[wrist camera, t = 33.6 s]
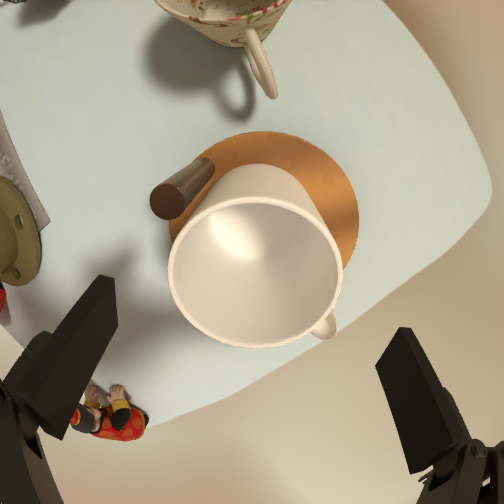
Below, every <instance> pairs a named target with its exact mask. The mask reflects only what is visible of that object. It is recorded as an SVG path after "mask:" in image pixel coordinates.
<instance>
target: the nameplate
mask: <svg viewBox="0 0 504 504" xmlns="http://www.w3.org/2000/svg"><path fill="white" fill-rule="evenodd" d="M0 176H3V177H5V178H7V179H8V180H9V181H11V182H12V183H13V184H14V185H15V186H16V187H17V189H18V190H19V191H20V193H21V194H22V196H23V197H24V199H25V200H26V202H27V204H28V206H29V208H30V210H31V213H32V215H33V218H34V221H35V224H36V227H37V231H38V232H39V231H40V230H41V229H43V228H44V227H45V226H46V225H47V224H48V223H49V222H50V219H49V217H48V215H47V214H46V212H45V210H44V208H43V206H42V205H41V203H40V201H39V199H38V197H37V195H36V193H35V191H34V189H33V187H32V185H31V183H30V181H29V179H28V177H27V175H26V173H25V171H24V169H23V166H22V164H21V162H20V160H19V157H18V155H17V153H16V151H15V148H14V146H13V143H12V141H11V138H10V136H9V133H8V131H7V128H6V125H5V123H4V120H3V117H2V114H1V111H0ZM19 221H20V223H21V225H22V226H24V222H23V219H22V217H21V216H20V215H19Z"/></svg>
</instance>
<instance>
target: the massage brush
mask: <svg viewBox="0 0 504 504" xmlns="http://www.w3.org/2000/svg"><path fill="white" fill-rule="evenodd" d="M3 1H9V2H13V3H15V4H16V3H20V2H21V1H22V2H26V1H27V0H21V1H20V0H17V2H15V0H13V1H12V0H3Z"/></svg>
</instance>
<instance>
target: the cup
mask: <svg viewBox="0 0 504 504" xmlns="http://www.w3.org/2000/svg"><path fill="white" fill-rule="evenodd" d="M167 272H168V282H169V287H170V290H171V293H172V296H173V298H174V301H175V303H176V304H177V306H178V308H179V309H180V311H181V312H182V314H183V315H184V316H185V317H186V318H187V320H188V321H189V322H190V323H191V324H193V325H194V326H195V327H196V328H197V329H199V330H200V331H201V332H203V333H205V334H206V335H208V336H210V337H212V338H214V339H216V340H218V341H221V342H223V343H226V344H229V345H234V346H238V347H245V348H268V347H274V346H279V345H283V344H286V343H289V342H292V341H294V340H297V339H299V338H301V337H303V336H304V335H306V334H308V333H309V332H310V333H311V334H313V335H314V336H316V337H318V338H320V339H325V340H326V339H329V338H331V337H332V336H334V334H335V332H336V319H335V315H334V311H333V307H334V305H335V303H336V301H337V299H338V296H339V294H340V290H341V286H342V280H343V266H342V260H341V255H340V252H339V249H338V247H337V244H336V242H335V240H334V238H333V237H332V235H331V233H330V231H329V229H328V228H327V226H326V224H325V222H324V221H323V219H322V217H321V215H320V214H319V212H318V210H317V208H316V207H315V205H314V203H313V202H312V200H311V198H310V196H309V195H308V193H307V192H306V190H305V188H304V187H303V186H302V185H301V183H300V182H299V181H298V180H297V179H296V178H295V177H293V176H292V175H291V174H289V173H288V172H286V171H285V170H283V169H280V168H278V167H275V166H272V165H267V164H248V165H243V166H240V167H237V168H235V169H232V170H231V171H229V172H227V173H226V174H224V175H223V176H222V177H221V178H219V179H218V180H217V181H216V182H215V183H214V185H213V186H212V187H211V189H210V190H209V191H208V193H207V194H206V195H205V197H204V198H203V200H202V201H201V202H200V204H199V205H198V207H197V208H196V209H195V211H194V212H193V214H192V215H191V217H190V218H189V219H188V221H187V222H186V224H185V225H184V227H183V228H182V230H181V231H180V233H179V234H178V236H177V237H176V239H175V241H174V243H173V246H172V248H171V251H170V255H169V260H168V270H167Z"/></svg>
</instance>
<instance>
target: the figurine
mask: <svg viewBox="0 0 504 504" xmlns="http://www.w3.org/2000/svg"><path fill="white" fill-rule="evenodd" d="M96 389H97V388H96V387H95V386H94V385H92V386H89V387H88V388H86V390H85V399H86V400H85V403H84V405H82V404H80V403H79V404H78V406H77V408H76V410H75V412H74V414H73V417H72V419H71V421H70V424H71V426H72V428H73V429H75V430H77V431H80V432H82V433H90V434H92V435H94V436H96V437H99V438H105V439H111V440H118V441H130V440H136V439H138V438H140V437H141V436H142V435H143V433H144V430H145V428H146V426H147V424H148V422H149V417H148V416H147V415H146V414H142V412H141V411H139V410H137V409H134V408H132V407H130V406H129V404H128V402H127V400H125V396H124V387H123V386H122V387H120V386H119V385H118V386H117V387H116V386H113V388H110V394H111V397H110V396H107V400H108V401H109V402H110V403H111V404H104V405H102V406H101V407H102V408H100V404H99V403H97V399H98V396H99V395H100V394H99V393H96V394H95V395H94V392H95V390H96ZM120 430H121V431H120Z"/></svg>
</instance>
